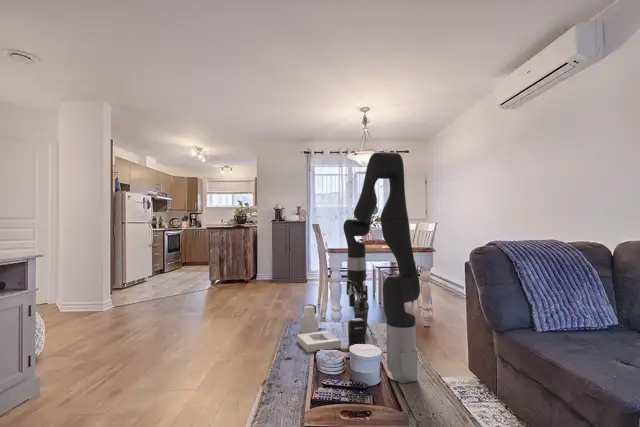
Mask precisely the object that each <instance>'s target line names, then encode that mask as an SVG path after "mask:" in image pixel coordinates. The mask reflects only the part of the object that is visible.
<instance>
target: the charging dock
mask: <svg viewBox="0 0 640 427" xmlns="http://www.w3.org/2000/svg"><path fill="white" fill-rule="evenodd" d="M296 343H298V344H299V345H300V346H301V347H302V349H304V350H305V351H306V352H307V353H314V352H317V351H316V350H320V349H329V348H336V349H340V348H341V339H340V338H338V337H337V336H336V335H334V334H332V332H330V331H329V330H324V331H317V332H313V333H299V334H296ZM329 350H330V349H329ZM313 351H314V352H313Z"/></svg>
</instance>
